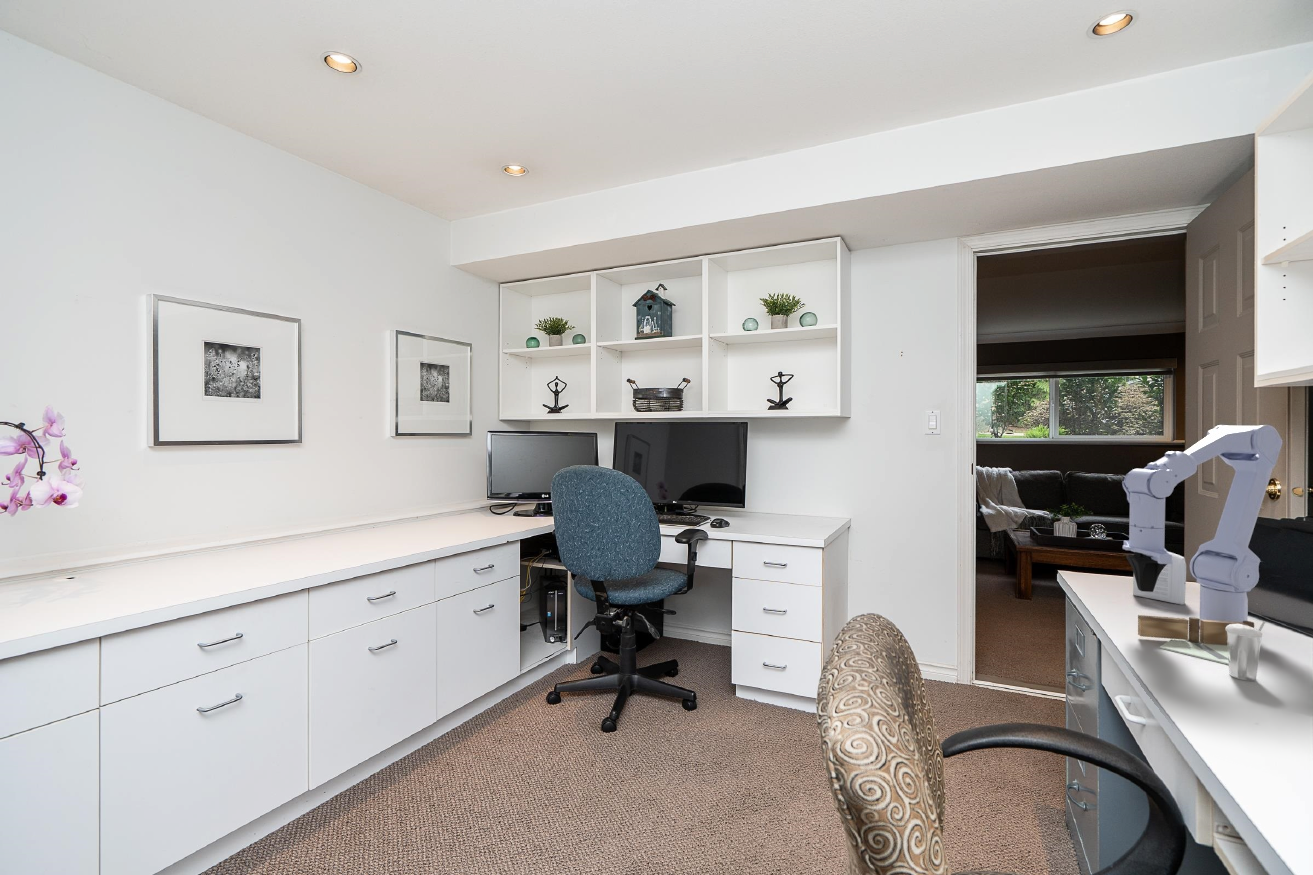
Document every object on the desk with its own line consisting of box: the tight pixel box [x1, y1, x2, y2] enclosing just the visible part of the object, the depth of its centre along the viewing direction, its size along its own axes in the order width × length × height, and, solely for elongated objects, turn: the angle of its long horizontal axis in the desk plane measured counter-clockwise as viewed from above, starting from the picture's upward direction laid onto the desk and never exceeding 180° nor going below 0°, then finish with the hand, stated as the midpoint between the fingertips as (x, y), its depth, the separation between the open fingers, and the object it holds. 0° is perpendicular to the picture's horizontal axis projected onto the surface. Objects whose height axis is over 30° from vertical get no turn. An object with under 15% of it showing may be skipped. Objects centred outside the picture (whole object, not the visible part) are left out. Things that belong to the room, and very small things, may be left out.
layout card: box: [1159, 631, 1229, 666], centre depth 117 cm, size 16×11×1 cm
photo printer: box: [1132, 551, 1187, 605], centre depth 149 cm, size 10×4×12 cm, turn 35°
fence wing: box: [1137, 614, 1189, 640], centre depth 121 cm, size 8×1×4 cm, turn 75°
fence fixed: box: [1188, 616, 1255, 645], centre depth 118 cm, size 2×10×5 cm, turn 75°
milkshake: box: [1225, 621, 1266, 682], centre depth 103 cm, size 4×5×10 cm
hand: (1145, 590), depth 125 cm, fingers closed
